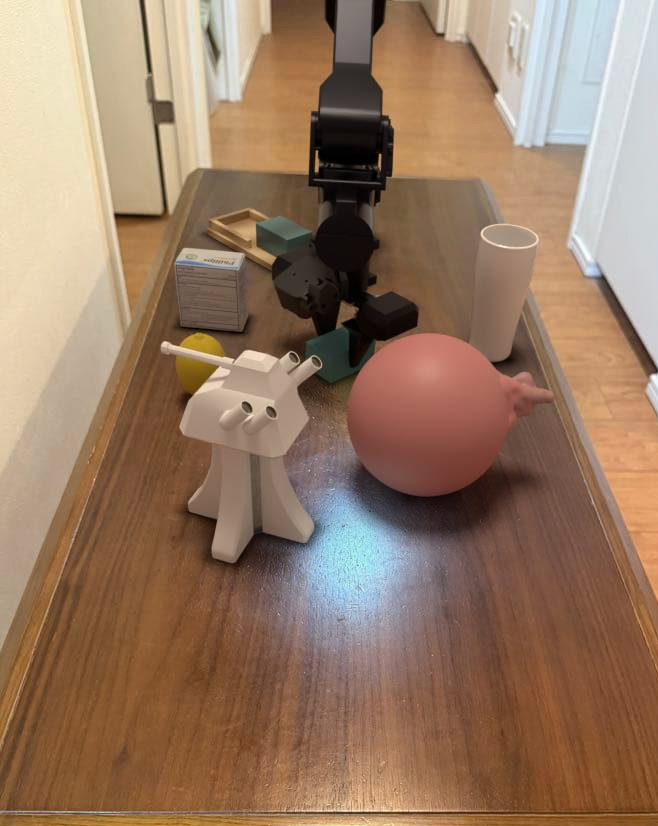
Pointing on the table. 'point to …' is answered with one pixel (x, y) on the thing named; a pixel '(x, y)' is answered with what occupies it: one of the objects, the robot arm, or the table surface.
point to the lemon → (197, 362)
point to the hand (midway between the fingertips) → (340, 357)
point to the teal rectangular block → (335, 354)
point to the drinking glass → (500, 287)
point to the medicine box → (212, 289)
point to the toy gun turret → (248, 446)
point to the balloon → (434, 413)
